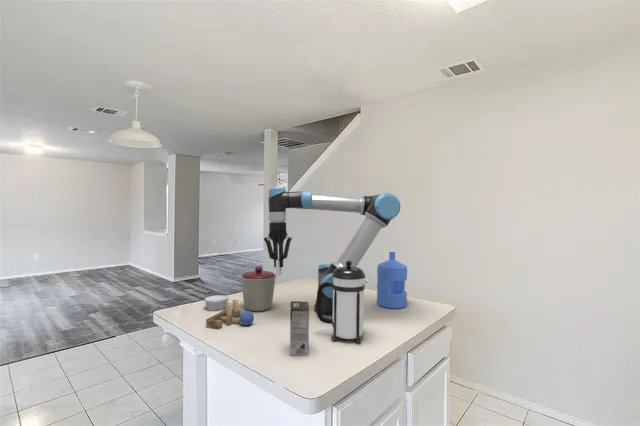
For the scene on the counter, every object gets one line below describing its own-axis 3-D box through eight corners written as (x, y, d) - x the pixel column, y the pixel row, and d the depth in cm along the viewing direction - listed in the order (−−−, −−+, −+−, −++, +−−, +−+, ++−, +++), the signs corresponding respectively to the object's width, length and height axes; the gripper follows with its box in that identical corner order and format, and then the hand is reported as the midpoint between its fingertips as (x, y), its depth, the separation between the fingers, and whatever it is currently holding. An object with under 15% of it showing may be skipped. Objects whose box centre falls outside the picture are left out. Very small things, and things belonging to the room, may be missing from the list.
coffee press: (352, 327, 134) (352, 256, 134) (374, 341, 120) (375, 262, 120) (315, 334, 126) (316, 259, 126) (335, 349, 112) (336, 265, 112)
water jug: (371, 305, 167) (371, 252, 167) (385, 299, 179) (386, 249, 179) (398, 311, 157) (398, 255, 157) (411, 304, 169) (412, 252, 169)
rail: (240, 316, 147) (240, 309, 147) (219, 329, 130) (219, 322, 130) (227, 314, 148) (227, 308, 148) (204, 327, 132) (204, 320, 132)
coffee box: (290, 345, 116) (290, 301, 116) (307, 344, 116) (308, 300, 116) (289, 356, 107) (290, 308, 107) (308, 355, 107) (309, 308, 107)
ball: (242, 318, 140) (253, 324, 138) (235, 323, 134) (246, 330, 132) (246, 306, 139) (258, 312, 137) (239, 310, 133) (251, 317, 132)
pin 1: (232, 324, 137) (233, 303, 137) (229, 325, 134) (230, 304, 134) (227, 323, 137) (228, 302, 137) (224, 325, 135) (225, 304, 135)
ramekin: (200, 308, 158) (200, 297, 158) (220, 303, 167) (221, 293, 167) (211, 313, 151) (211, 302, 151) (232, 308, 159) (232, 297, 159)
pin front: (240, 317, 138) (222, 315, 140) (238, 319, 136) (219, 317, 138) (241, 322, 138) (223, 320, 141) (238, 325, 136) (220, 322, 139)
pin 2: (238, 320, 141) (239, 300, 141) (236, 321, 139) (236, 301, 139) (234, 319, 142) (234, 299, 142) (231, 321, 140) (231, 301, 140)
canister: (271, 301, 171) (272, 263, 171) (280, 312, 154) (280, 268, 154) (237, 305, 164) (238, 264, 164) (242, 315, 147) (242, 270, 147)
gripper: (294, 221, 144) (295, 273, 144) (267, 221, 146) (268, 272, 147) (288, 222, 136) (290, 276, 136) (260, 222, 139) (261, 275, 139)
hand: (278, 274), depth 141 cm, fingers closed
